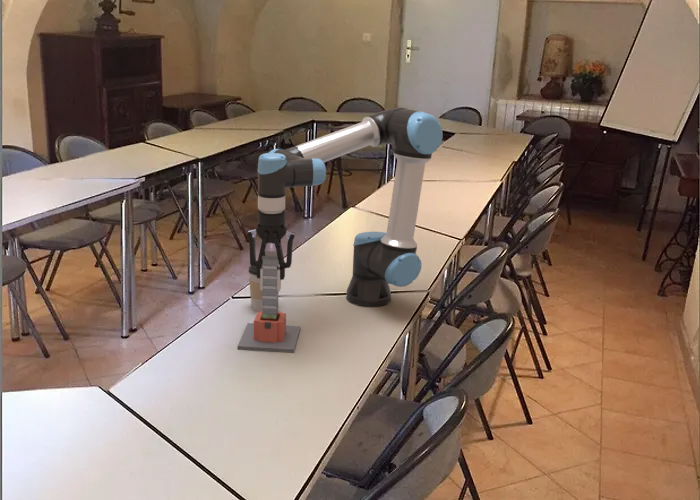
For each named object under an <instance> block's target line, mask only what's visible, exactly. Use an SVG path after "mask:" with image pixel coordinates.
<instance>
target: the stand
mask: <svg viewBox="0 0 700 500" xmlns="http://www.w3.org/2000/svg"><path fill="white" fill-rule="evenodd" d="M256 312H257V313H256V315H255V317H254V319H253V322H252V323H251V322H247V324H246V327H245V329H244V330H243V333H242V335H241V337H240V340H239V342H238V344H237V350H241V351H242V350H245V351H258V352H259V351H260V352H261V351H262V352H277V353H291V354H294V353H295V349H296V347H297V343H298V339H299V336H300V332H301V325H289V324H287V313H286V312H282V311H278V316H277V318H276V319H265V318H262V311H256Z"/></svg>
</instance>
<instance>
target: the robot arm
mask: <svg viewBox="0 0 700 500" xmlns="http://www.w3.org/2000/svg"><path fill="white" fill-rule="evenodd" d="M442 142H443V127H442V124H441V122H440V121H439V120H438V118H437V117H435V116H434V115H432V114H431V113H427V112H425V111H420V110H415V109H414V110H413V109H408V108H406V107H405V108H404V107H393V108H389V109H385V110H381V111H379V112H377V113H373V114H371V115H370V114H369V115H367V116H365V117H363V119H362V120H361V121H360V122H358V123H356V124H353V125H350V126H348V127H344V128H342V129H338V130H336V131H333V132H330V133H328V134H324V135H322V136H320V137H316V138H315V139H312V140H309V141H307V142H303V143H300V144H298V145H295V146H292V147H288V148H286V149H283V148H274V149H272V150H270V151H269V152H266V153H265V152H264V153H262V154H260V155H259V157H258V163H257V170H256V171H257V209H258V211H257V225H256V228H255V229H248V231H247V233H246V236H247V239H248V241H249V265H250V266H255V267H256V268H257V278H260V290H262V291H263V288H262V286H263V266H262V262H263V259H262V255H264V253H265V251H266V248H267V244H274V246H275V252H277V256H278V261H279V267H278V269H277V291H278V292H280V291H281V289H282V280H283V281H284V280H285V275H286V269H288V268H291V266H292V261H293V260H292V259H293V247H294V246H293V244H294V239H295V237H296V233H295V232H294V231H292V232H291V231H289V230H287V227H286V211H285V209H286V191H287V190H286V189H289V188H301V187H313V186H319V185H322V184H324V182H325V181H326V177H327V168H326V165H325V163H326V162H329V161H331V160H334V159H337V158H340V157H342V156H345V155H348V154H350V153H353V152H356V151H358V150H360V149H363V148H367V147H369V146H371V147H374V148H376V147H378V146H380V145H394V147H393V152H392V153H393V155H394V157H395V158H396V160H397V162H396V168H395V175H394V179H393V181H394V182H393V187H392V194H391V199H390V200H391V201H390V202H391V203H390V206H389V207H390V208H389V215H388V221H387V228H386V232H384V231H363V232H359V233H357V234H356V235H355V236H354V240H353V244H352V245H353V255H352V256H353V258H352V259H353V260H352V276H351V279H350V281H349V284H348V286H347V290H346V295H345V296H346V300H347V301H348V302H350V303H351V304H353V305H356V306H359V307H360V306H361V307H366V308H367V307H370V308H372V307H373V308H374V307H375V308H376V307H381V306H385V305H387V304H389V303H390V302H391V300H392V291H391V288H390V285H392V286H395V287H399V288H401V287H406V286H409V285H410V284H412V283H413V282H414V281H416V280H417V278H418V277H419V275H420V273H421V270H422V260H421V259H420V256H419V255H418V254H417V250H418V243H417V242H416V241H415V239H414V236H415V230H416V225H417V220H418V219H417V218H418V211H419V205H420V199H421V192H422V187H423V181H424V180H423V179H424V174H425V168H426V164H427V163H428V162H429V161H431V160H432V155H433V154H434V153H435V152H436V151H437V150H438V148H440V146H441V144H442ZM257 235H258V236H259V238H260V239H261V244H260V247H259V248H260V249H259V253H258V258H257V257H256V251H257V250H256V237H257ZM284 236H286V240H287V244H286V245H287V246H286V260H285V256H284V252H283V247H282V239H283V238H284ZM256 258H257V259H256ZM285 261H286V262H285Z"/></svg>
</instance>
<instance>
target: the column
mask: <svg viewBox="0 0 700 500" xmlns="http://www.w3.org/2000/svg"><path fill="white" fill-rule="evenodd" d="M262 259H263V286H262V288H263V295H262V311H261V312H262V318H265V319H276V318H277V316H278V312H279V292H278V291H277V269H278V267H280V266H279V261H278V256H277V251H276V250H275V251H274V250H273V251H272V250H265V253H264V255H262Z"/></svg>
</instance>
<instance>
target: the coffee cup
mask: <svg viewBox="0 0 700 500" xmlns="http://www.w3.org/2000/svg"><path fill="white" fill-rule="evenodd" d="M262 266H263V262H262ZM248 273H249V274H248V276H249V279H248V281H249V291H250V293H249V294H250V300H251V301H250V302H251V309H252V310H253V311H256V312H258V311H259V312H262V295H263V291H262V290H260V278H257V268H256V267H255V266H251V265H250V266H248Z"/></svg>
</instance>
